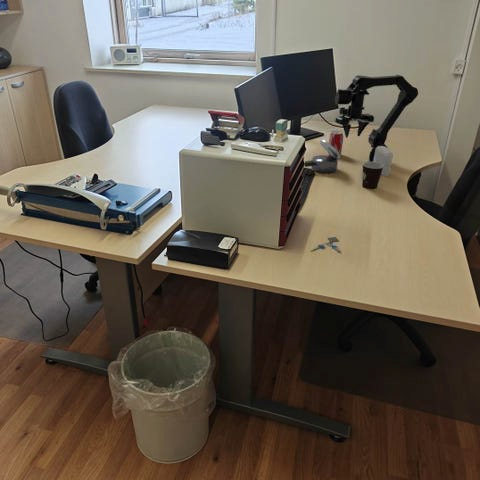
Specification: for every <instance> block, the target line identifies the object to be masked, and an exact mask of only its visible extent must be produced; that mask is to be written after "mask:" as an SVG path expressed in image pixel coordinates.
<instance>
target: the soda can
mask: <svg viewBox="0 0 480 480" xmlns="http://www.w3.org/2000/svg"><path fill="white" fill-rule="evenodd" d="M343 133H344V132H343V131H341V130H332V131H331V133H330V134H329V139H328V143H329V144H331V145H332V146H333V147H334V148H335V149H336V150H337V151H338V152H339V154H340V155H342V150H343V144H344V134H343ZM327 153H328V155H329V156H332V155H331V154H330V153H329V152H328V151H327ZM332 157H333V156H332Z"/></svg>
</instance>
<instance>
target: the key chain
mask: <svg viewBox="0 0 480 480" xmlns="http://www.w3.org/2000/svg"><path fill="white" fill-rule="evenodd" d="M326 239H327V240H328V241H329V242H325V245H326V246H327V247H330V248H331V247H332V248H333V249H334V250H335V251H336V252H338V253H340V252H342V250H340V248H338V246H337V245H334V244H333V243H339V242H340V240H339V239H338V238H337V236H333V237H332V236H331V237H327V238H326ZM325 245H324V243H321V244H318V245H317V247H315V248H313V249H311V250H310V252H313V251H315V250H318V249H321V248H322V249H324V248H326V246H325ZM332 248H331V249H332Z"/></svg>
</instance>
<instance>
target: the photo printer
mask: <svg viewBox="0 0 480 480" xmlns="http://www.w3.org/2000/svg"><path fill="white" fill-rule="evenodd" d="M387 147H388V146H387ZM387 147H384V146H378V147H377V148H376V150H375V155H374V160H373V162H377V163H380V164H382V165H383V170H382V173H381V176H383V177H387V176H389V175H390V172H391V168H392V163H393V158H394V154H393V152H392V151H391V149H389V147H388V148H387Z"/></svg>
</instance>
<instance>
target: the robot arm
mask: <svg viewBox="0 0 480 480" xmlns="http://www.w3.org/2000/svg"><path fill="white" fill-rule="evenodd" d="M385 86H386V87H387V86H396V87H397V88H398V90H399V93H398V95H397V100H396V103H395V104H394V105H393V107H392V108H391V110H390V111H389V113H388V114H387V116H386V117H385V119H384V120H383V121H382V123H381V125H380V126H379V127H378V128H377V129H375V128H373V129H372V130H371V132H370V133H369V135H368V138H367V139H368V143H369V145H370V148H371V151H370V152H369V157H368V162H373V160H374V155H375V150H376V148H377V147H378V146H384V147H387V148H388V149H389V147H388V146H387V145H386V141H387V138H388V133H389V131H390V130H391V129H392V127H393V126H394V124H395V122H396V121H398V118H399V117H400V116H401V114H402V113H403V111H404V110H405V108H406V107H408V106H409V105H410V104H411V103H413V101H415V100H416V98H417V97H418V95H419V90H418V88H417V87H415V86H413V85H412V84H411V83H410V82H408V80H406V78H405V77H404V76H403V75H400V74H395V75H384V76H366V75H359V74H358V75H355V76H354V77H353V78H352V81H351V82H350V84H349V85H348V86H347V87H346V89H342V88H339V89H338V88H337V92H336V93H335V96H334V102H335V103H334V104H335V105H340V106H341V105H348V106H347V108H345V107H343V106H342V107H339V116H336V117H335V123H336V124H339V125H341V126H342V128H343V131H344V132H343V133H344V136H345V138H347V139H348V137H349V134H350V131H351V127H352V124H350V123H351V122H357V124H358V127H357V137H360V136H361V134H362V133H363V131H364V130H365V129H366V128H367V126H368V125H370V123H373V122H375V116H374V115H373V114H370V113H363V111H364V110H365V106H364V102H365V96H370V93H369V91H368V90H369V89H371V88H375V87H385ZM349 104H350V105H349ZM340 115H341V116H340Z"/></svg>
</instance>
